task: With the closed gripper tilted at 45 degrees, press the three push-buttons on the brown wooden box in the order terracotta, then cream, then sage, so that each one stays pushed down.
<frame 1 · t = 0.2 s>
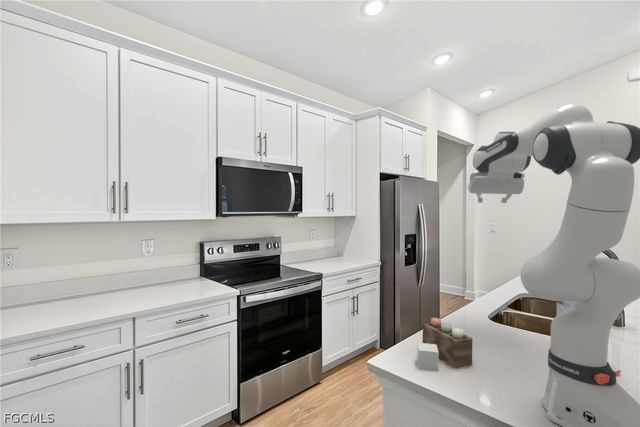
hand: (491, 202, 134), 54 cm above the counter, tool tilted 30°, fingers open, 8 cm apart
cream button: (457, 333, 105), point 10 cm above the counter, slide at 0.0 cm
sage button: (446, 327, 109), point 10 cm above the counter, slide at 0.0 cm
grey cube: (427, 366, 103), on the counter
brown wooden box: (445, 355, 110), on the counter
cracker box: (575, 361, 107), on the counter
terracotta button: (435, 322, 114), point 10 cm above the counter, slide at 0.0 cm
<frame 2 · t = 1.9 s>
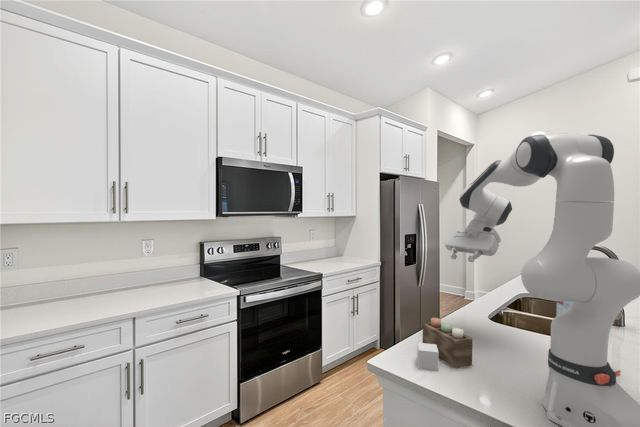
hand: (461, 259, 122), 31 cm above the counter, tool tilted 45°, fingers open, 6 cm apart
nothing on the counter moved.
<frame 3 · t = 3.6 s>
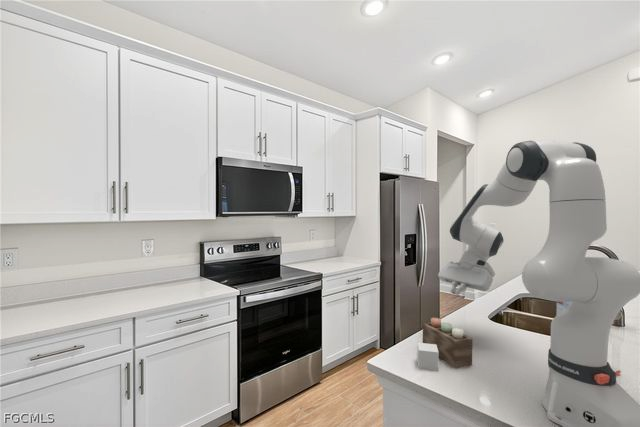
hand: (454, 293, 119), 19 cm above the counter, tool tilted 45°, fingers closed
nothing on the counter moved.
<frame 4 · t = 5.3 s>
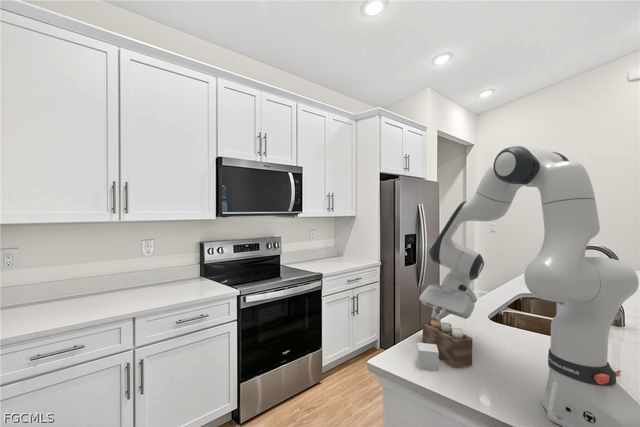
hand: (434, 319, 114), 11 cm above the counter, tool tilted 45°, fingers closed, pressing on terracotta button
terracotta button: (435, 324, 114), point 9 cm above the counter, slide at 0.7 cm, touching gripper
everything else where it was.
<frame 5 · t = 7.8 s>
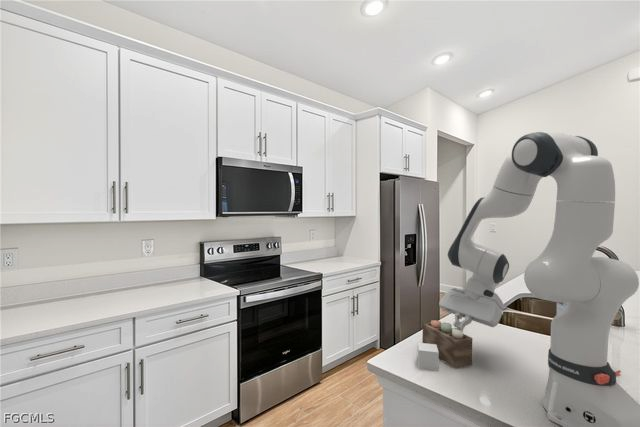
hand: (457, 327, 105), 12 cm above the counter, tool tilted 45°, fingers closed
cream button: (457, 333, 105), point 10 cm above the counter, slide at 0.0 cm, touching gripper
terracotta button: (435, 325, 114), point 9 cm above the counter, slide at 0.9 cm
everything else where it was.
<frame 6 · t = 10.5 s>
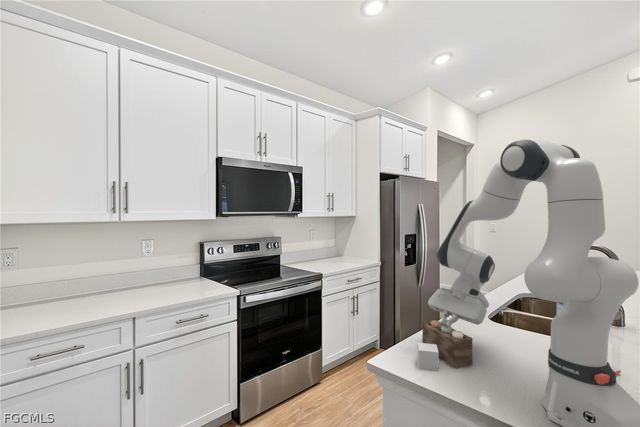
hand: (444, 325, 109), 11 cm above the counter, tool tilted 45°, fingers closed, pressing on sage button
cream button: (457, 336, 105), point 9 cm above the counter, slide at 0.9 cm
sage button: (446, 330, 110), point 9 cm above the counter, slide at 0.9 cm, touching gripper
everything else where it was.
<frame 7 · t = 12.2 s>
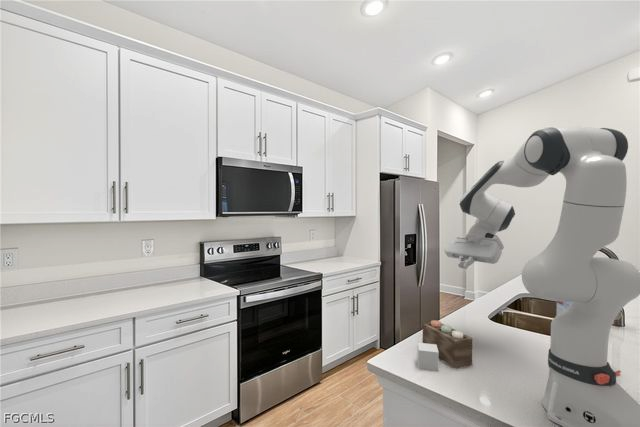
hand: (462, 267, 116), 29 cm above the counter, tool tilted 45°, fingers closed
sage button: (446, 330, 110), point 9 cm above the counter, slide at 0.9 cm
everything else where it was.
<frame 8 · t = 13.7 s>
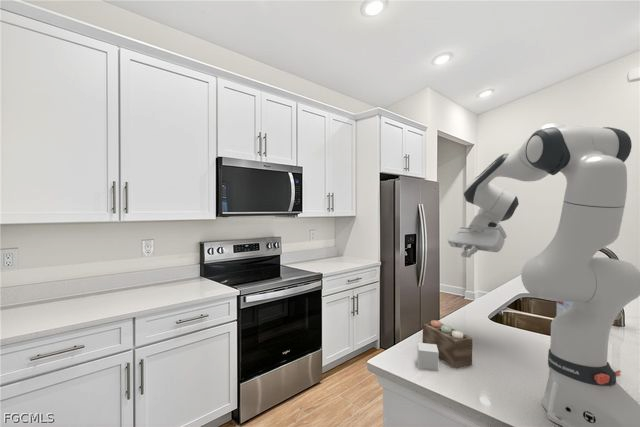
hand: (465, 256, 118), 33 cm above the counter, tool tilted 45°, fingers closed
nothing on the counter moved.
at the end: terracotta button slide at 0.9 cm; cream button slide at 0.9 cm; sage button slide at 0.9 cm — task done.
